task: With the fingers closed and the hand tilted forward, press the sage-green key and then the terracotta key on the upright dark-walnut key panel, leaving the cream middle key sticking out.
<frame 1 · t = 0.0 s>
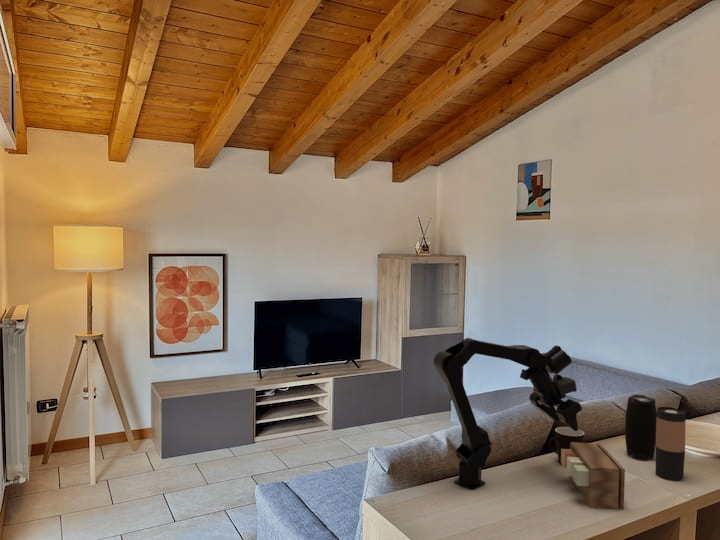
hand: (567, 425, 161), 15 cm above the table, tool tilted 35°, fingers open, 9 cm apart
travel mug: (669, 476, 161), on the table
coffee mug: (564, 462, 171), on the table
key sage: (586, 475, 144), point 7 cm above the table, slide at 0.0 cm
key cream: (579, 466, 150), point 7 cm above the table, slide at 0.0 cm
key panel: (579, 491, 150), on the table
key terracotta: (573, 458, 156), point 7 cm above the table, slide at 0.0 cm
portable speaker: (640, 457, 177), on the table
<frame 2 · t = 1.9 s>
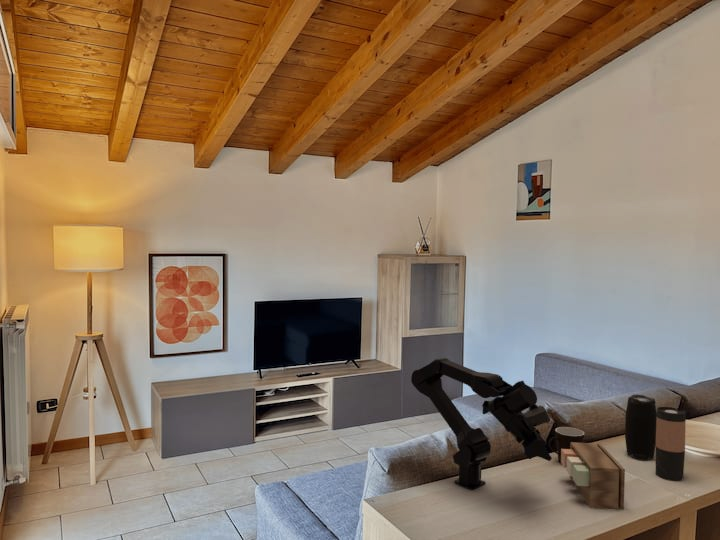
hand: (550, 459, 144), 11 cm above the table, tool tilted 45°, fingers closed
nothing on the table moved.
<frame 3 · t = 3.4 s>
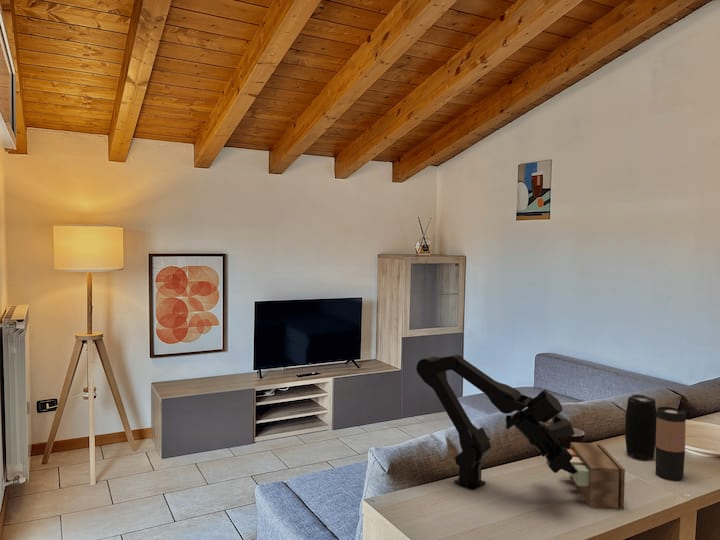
hand: (574, 472, 144), 8 cm above the table, tool tilted 45°, fingers closed, pressing on key sage
key sage: (587, 475, 144), point 7 cm above the table, slide at 0.2 cm, touching gripper
everything else where it was.
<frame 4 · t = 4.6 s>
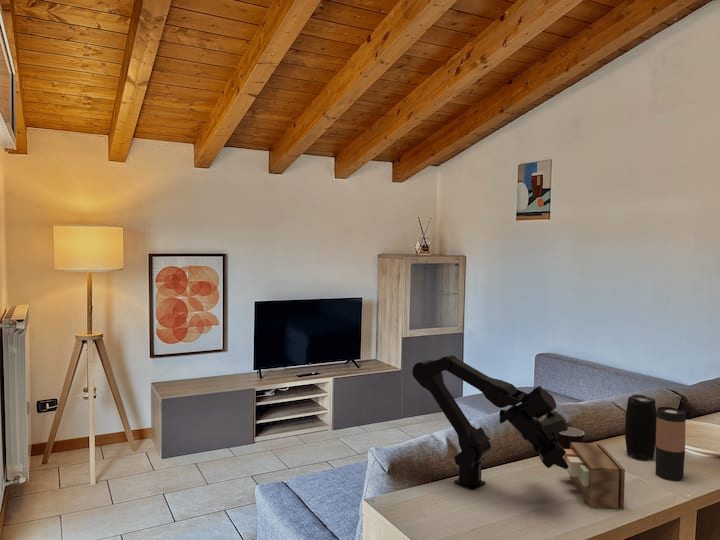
hand: (567, 467, 144), 9 cm above the table, tool tilted 45°, fingers closed
key sage: (593, 476, 143), point 7 cm above the table, slide at 1.7 cm
everything else where it was.
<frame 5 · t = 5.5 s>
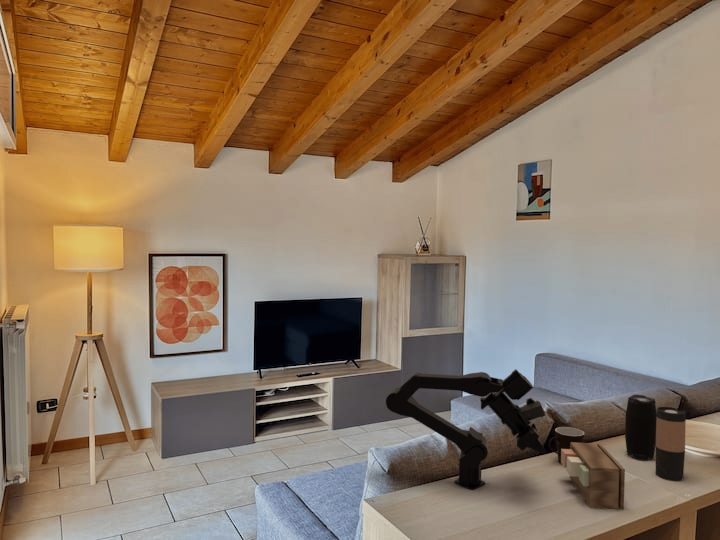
hand: (545, 452, 150), 11 cm above the table, tool tilted 45°, fingers closed
nothing on the table moved.
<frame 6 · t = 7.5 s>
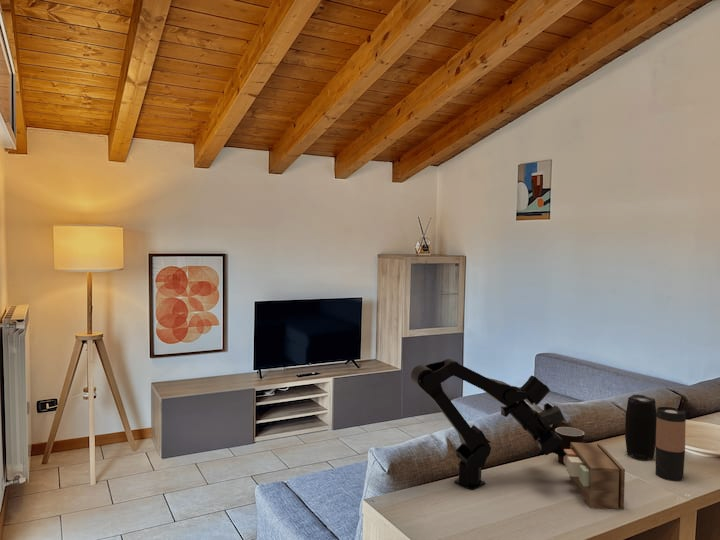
hand: (564, 455, 156), 8 cm above the table, tool tilted 45°, fingers closed, pressing on key terracotta
key terracotta: (576, 458, 155), point 7 cm above the table, slide at 0.7 cm, touching gripper
everything else where it was.
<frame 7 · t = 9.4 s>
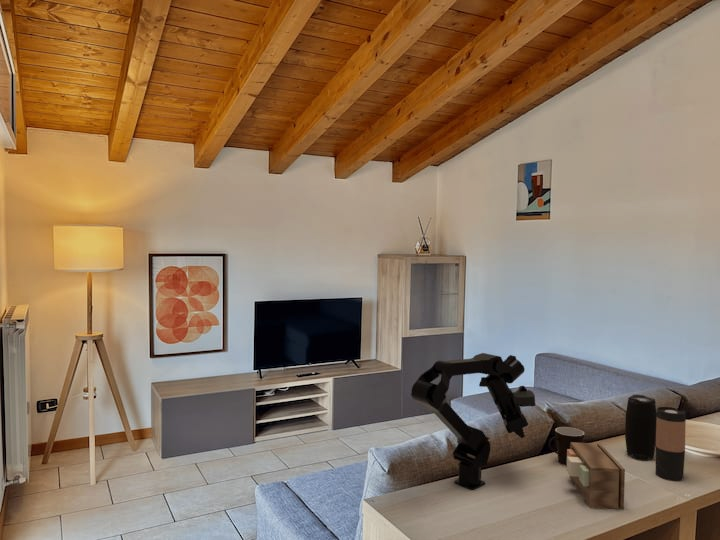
hand: (522, 437, 161), 11 cm above the table, tool tilted 30°, fingers closed
key terracotta: (579, 459, 155), point 7 cm above the table, slide at 1.7 cm
everything else where it was.
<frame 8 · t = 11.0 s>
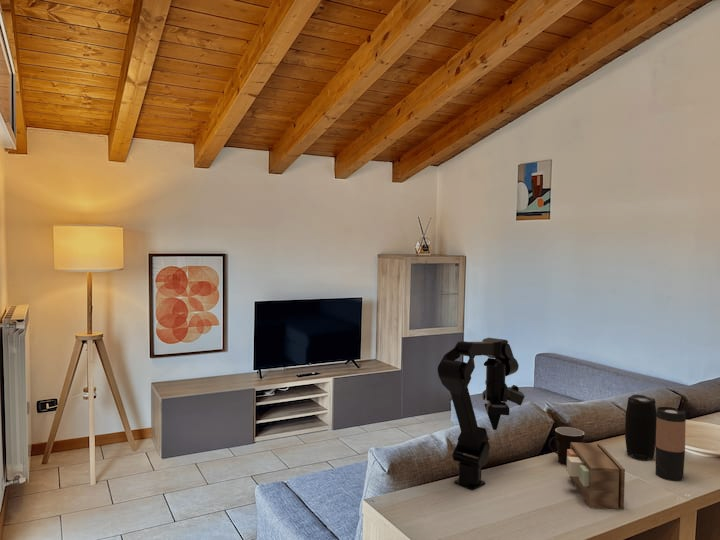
hand: (494, 429, 165), 12 cm above the table, tool pointing down, fingers closed
nothing on the table moved.
at the end: key sage slide at 1.7 cm; key terracotta slide at 1.7 cm; key cream slide at 0.0 cm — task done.
